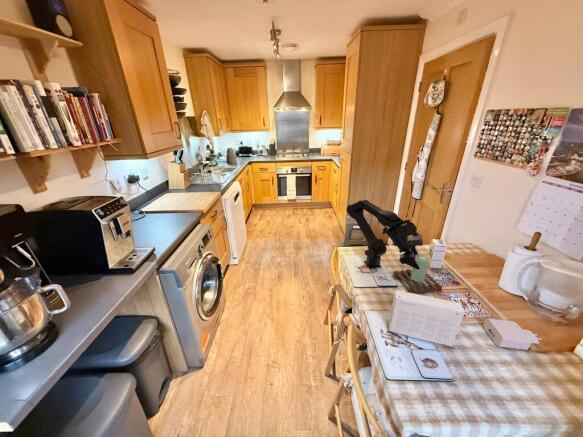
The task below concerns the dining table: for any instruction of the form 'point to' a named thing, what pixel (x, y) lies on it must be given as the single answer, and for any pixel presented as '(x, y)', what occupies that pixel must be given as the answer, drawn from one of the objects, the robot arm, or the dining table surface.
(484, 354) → the dining table surface
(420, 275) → the green rectangular box
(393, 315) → the skincare box
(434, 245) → the syrup box
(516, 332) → the charger
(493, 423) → the dining table surface
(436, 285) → the rack
